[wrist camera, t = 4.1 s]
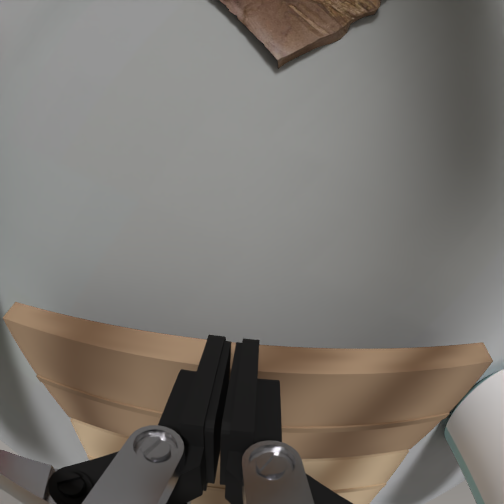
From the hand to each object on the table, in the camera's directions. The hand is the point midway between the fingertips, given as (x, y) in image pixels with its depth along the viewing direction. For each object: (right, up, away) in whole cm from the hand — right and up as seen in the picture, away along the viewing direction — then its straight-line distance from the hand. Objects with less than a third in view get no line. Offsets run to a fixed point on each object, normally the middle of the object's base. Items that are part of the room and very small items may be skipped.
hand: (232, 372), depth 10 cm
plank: (0, -3, +3) cm, 4 cm away
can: (+17, -7, +5) cm, 19 cm away
